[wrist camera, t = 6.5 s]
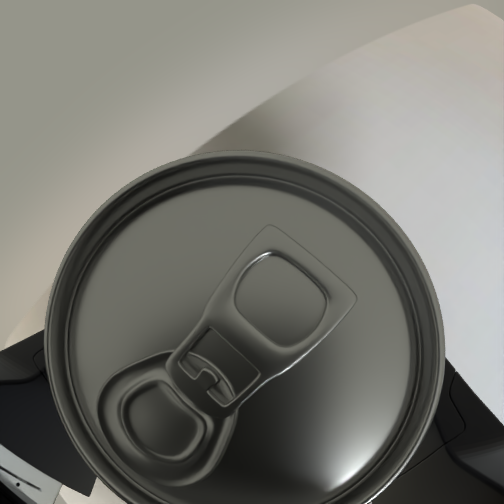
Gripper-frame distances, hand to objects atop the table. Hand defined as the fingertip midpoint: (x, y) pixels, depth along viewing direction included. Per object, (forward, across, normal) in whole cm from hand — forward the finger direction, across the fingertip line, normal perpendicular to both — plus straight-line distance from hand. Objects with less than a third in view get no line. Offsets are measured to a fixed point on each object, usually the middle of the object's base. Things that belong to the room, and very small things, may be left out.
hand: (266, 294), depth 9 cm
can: (+4, 0, +6) cm, 7 cm away
